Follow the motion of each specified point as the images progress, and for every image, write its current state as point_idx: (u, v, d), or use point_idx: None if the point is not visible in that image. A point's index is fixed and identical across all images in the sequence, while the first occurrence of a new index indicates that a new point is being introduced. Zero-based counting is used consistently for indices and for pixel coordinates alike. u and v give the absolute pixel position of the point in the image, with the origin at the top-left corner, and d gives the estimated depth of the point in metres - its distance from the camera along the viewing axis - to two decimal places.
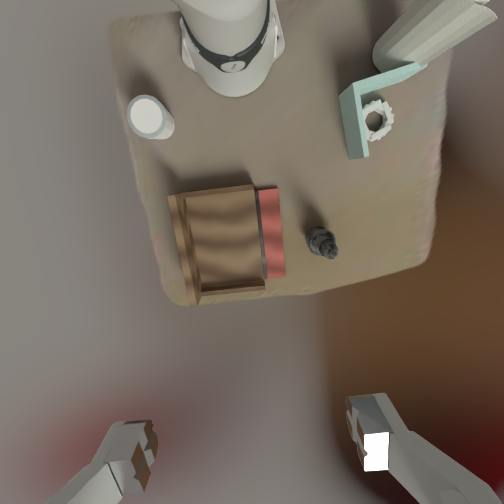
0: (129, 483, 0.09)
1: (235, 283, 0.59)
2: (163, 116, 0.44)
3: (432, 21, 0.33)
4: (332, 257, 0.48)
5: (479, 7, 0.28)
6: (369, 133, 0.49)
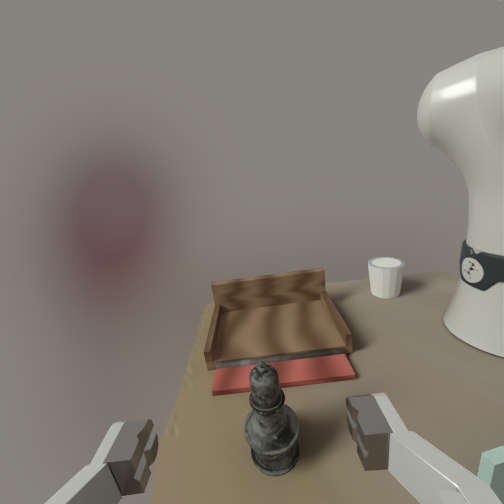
0: (129, 483, 0.09)
1: (219, 335, 0.47)
2: (391, 267, 0.51)
3: None
4: (253, 372, 0.25)
5: None
6: None
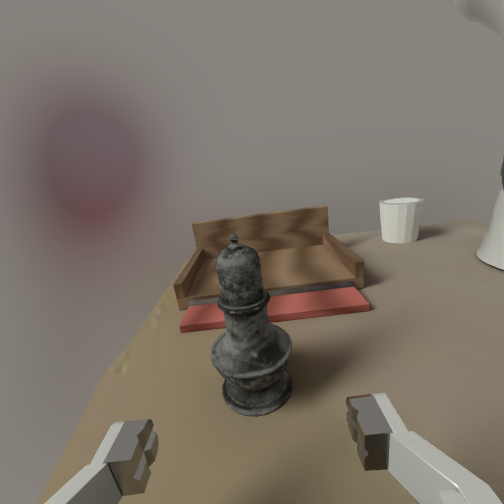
0: (129, 483, 0.09)
1: (198, 276, 0.38)
2: (408, 203, 0.42)
3: None
4: (221, 252, 0.16)
5: None
6: None
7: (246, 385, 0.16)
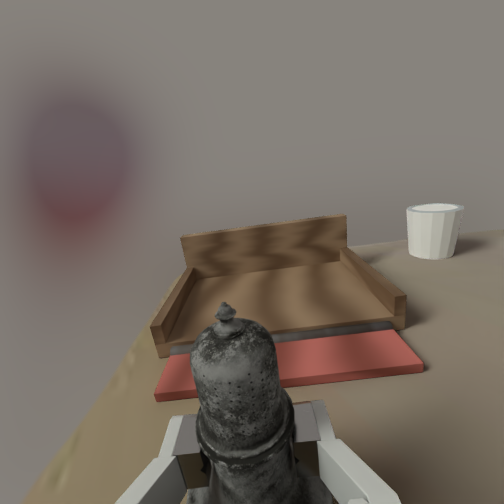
0: (195, 476, 0.09)
1: (186, 306, 0.30)
2: (446, 211, 0.34)
3: None
4: (201, 339, 0.08)
5: None
6: None
7: None
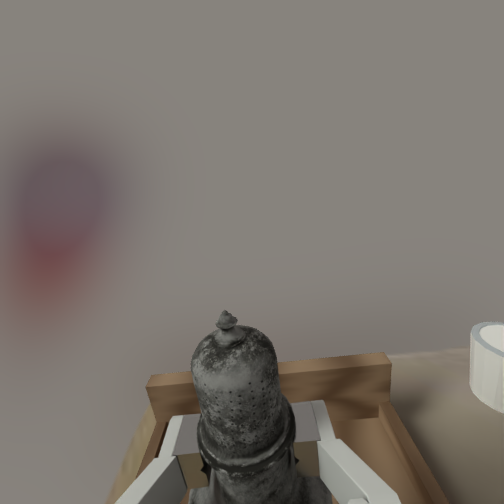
0: (195, 476, 0.09)
1: None
2: None
3: None
4: (202, 348, 0.08)
5: None
6: None
7: None
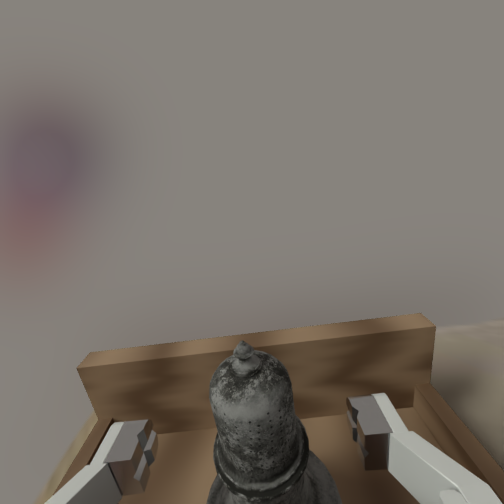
0: (129, 483, 0.09)
1: None
2: None
3: None
4: (220, 375, 0.09)
5: None
6: None
7: None
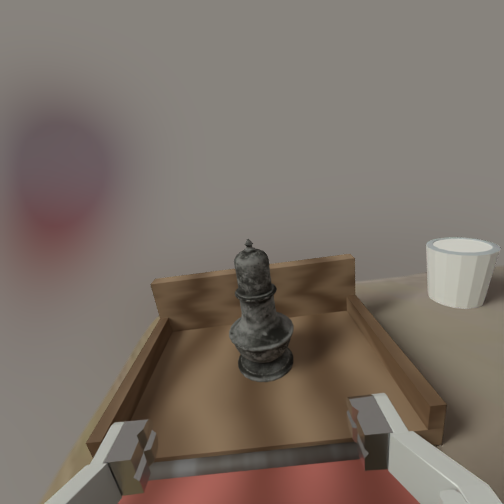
0: (129, 483, 0.09)
1: (151, 383, 0.24)
2: (479, 253, 0.28)
3: None
4: (239, 254, 0.21)
5: None
6: None
7: (258, 357, 0.21)
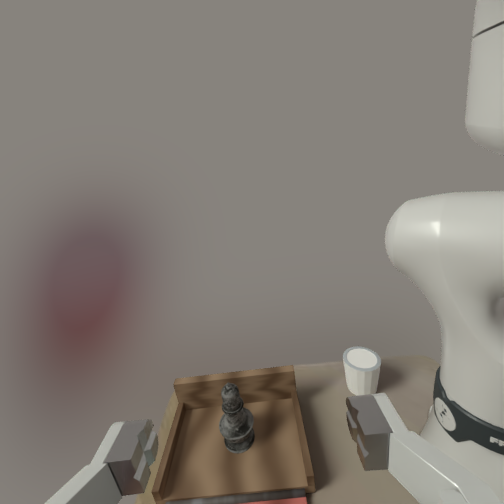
0: (129, 483, 0.09)
1: (176, 451, 0.43)
2: (366, 369, 0.47)
3: None
4: (223, 389, 0.41)
5: None
6: None
7: (233, 441, 0.41)
